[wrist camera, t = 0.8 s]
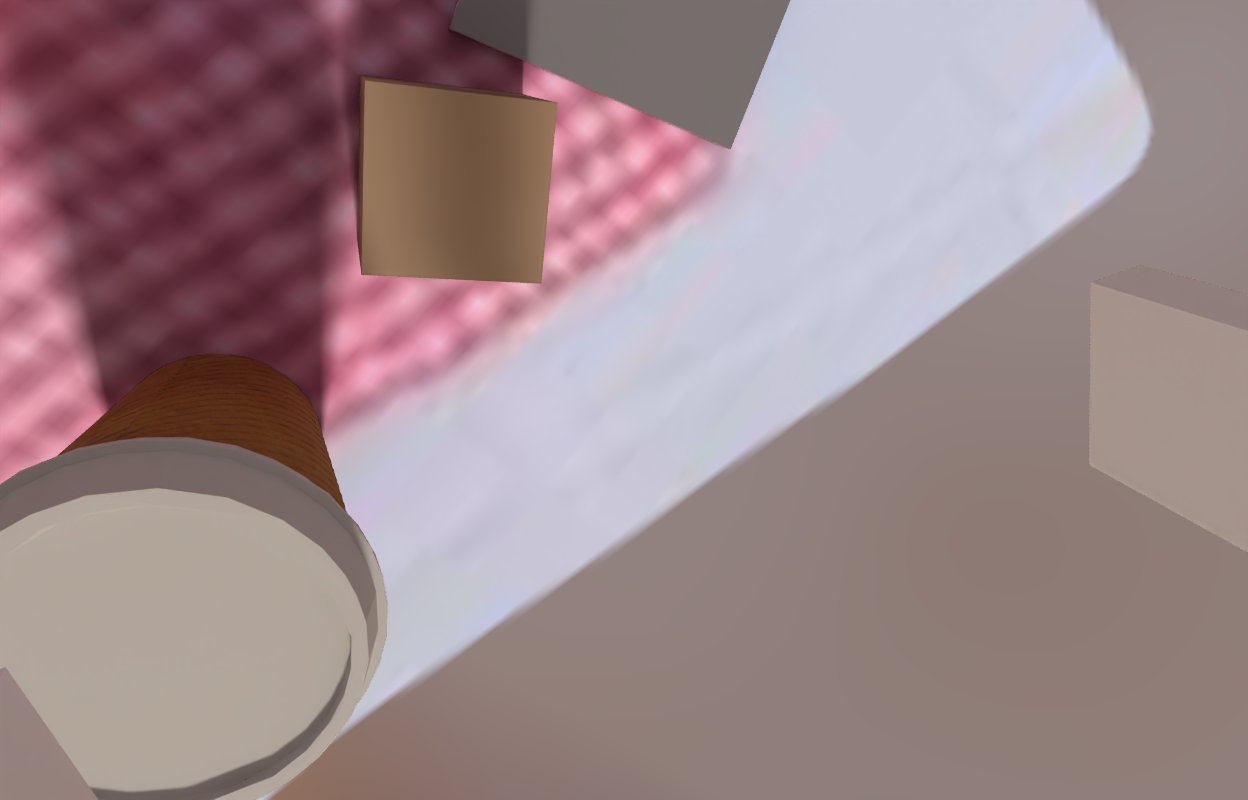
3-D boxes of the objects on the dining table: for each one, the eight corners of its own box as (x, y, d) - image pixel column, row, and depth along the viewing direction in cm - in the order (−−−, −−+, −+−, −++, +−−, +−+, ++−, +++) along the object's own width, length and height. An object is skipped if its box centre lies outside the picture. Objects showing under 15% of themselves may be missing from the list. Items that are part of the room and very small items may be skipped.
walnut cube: (357, 239, 28) (361, 274, 24) (359, 75, 26) (364, 80, 22) (510, 248, 30) (541, 283, 25) (522, 94, 28) (557, 102, 24)
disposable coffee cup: (232, 244, 27) (168, 371, 16) (426, 454, 31) (474, 662, 21) (-18, 429, 27) (-249, 679, 16) (212, 615, 31) (151, 908, 21)
